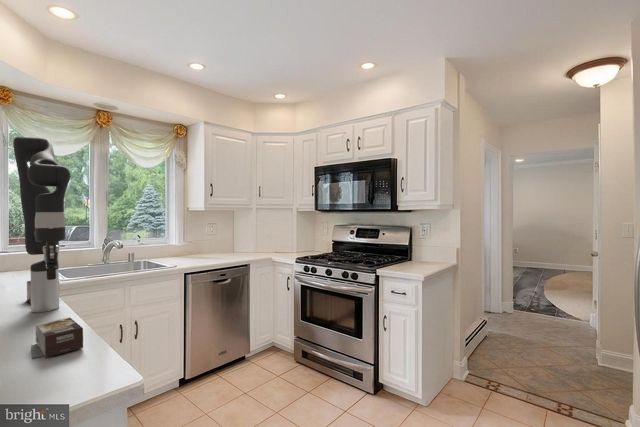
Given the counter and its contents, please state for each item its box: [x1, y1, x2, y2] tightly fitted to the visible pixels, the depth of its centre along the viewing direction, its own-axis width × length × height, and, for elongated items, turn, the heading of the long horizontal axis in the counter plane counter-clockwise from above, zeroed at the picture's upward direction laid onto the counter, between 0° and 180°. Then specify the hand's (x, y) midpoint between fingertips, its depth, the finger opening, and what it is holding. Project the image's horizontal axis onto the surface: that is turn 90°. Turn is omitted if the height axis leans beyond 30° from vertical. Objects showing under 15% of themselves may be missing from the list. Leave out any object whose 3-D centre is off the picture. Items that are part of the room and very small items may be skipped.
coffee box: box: [35, 317, 84, 358], centre depth 100 cm, size 9×6×16 cm
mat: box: [31, 343, 45, 360], centre depth 99 cm, size 12×10×1 cm
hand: (51, 279), depth 104 cm, fingers closed
